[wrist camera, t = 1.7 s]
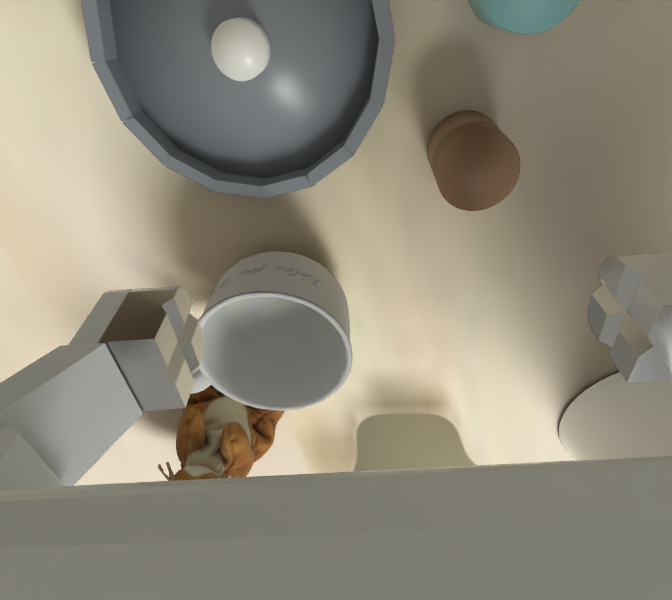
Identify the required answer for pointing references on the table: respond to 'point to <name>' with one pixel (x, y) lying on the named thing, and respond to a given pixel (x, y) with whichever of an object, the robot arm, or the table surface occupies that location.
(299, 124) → the groove tray
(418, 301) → the table surface
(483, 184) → the walnut bead
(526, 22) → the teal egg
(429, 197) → the table surface
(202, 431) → the stuffed squirrel
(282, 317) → the teacup
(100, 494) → the robot arm
